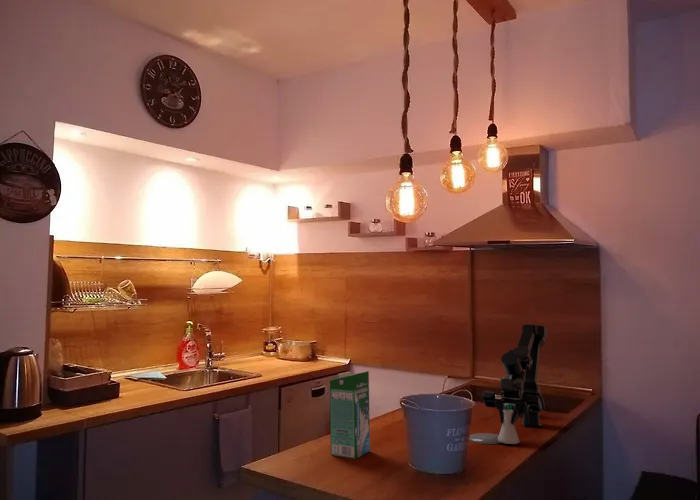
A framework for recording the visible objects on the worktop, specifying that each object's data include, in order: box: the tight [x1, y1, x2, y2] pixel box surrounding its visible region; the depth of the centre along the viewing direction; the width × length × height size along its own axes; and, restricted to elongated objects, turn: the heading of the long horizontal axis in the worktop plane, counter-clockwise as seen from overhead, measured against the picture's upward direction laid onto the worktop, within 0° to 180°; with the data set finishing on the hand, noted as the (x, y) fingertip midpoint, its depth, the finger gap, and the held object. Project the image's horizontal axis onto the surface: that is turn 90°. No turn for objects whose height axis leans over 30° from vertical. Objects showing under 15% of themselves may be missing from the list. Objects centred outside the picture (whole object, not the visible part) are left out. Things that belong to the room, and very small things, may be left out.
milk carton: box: [329, 370, 371, 460], centre depth 171 cm, size 9×9×25 cm
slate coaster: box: [468, 432, 503, 445], centre depth 184 cm, size 12×12×1 cm
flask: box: [498, 409, 521, 445], centre depth 179 cm, size 7×7×10 cm
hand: (506, 423), depth 178 cm, fingers closed on flask, 3 cm apart
